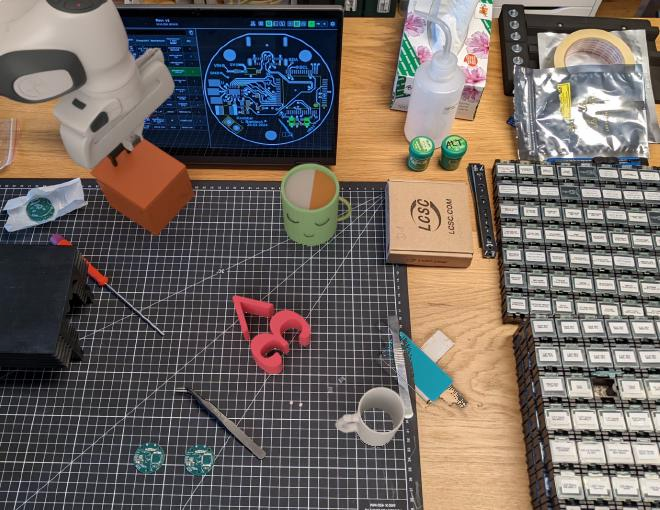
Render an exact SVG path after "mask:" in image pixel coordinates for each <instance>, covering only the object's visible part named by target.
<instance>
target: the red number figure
mask: <svg viewBox="0 0 660 510" xmlns="http://www.w3.org/2000/svg"><path fill="white" fill-rule="evenodd" d="M232 301H233V305H234V309H235V311H236V314H237V318H238V322H239V323H240V324H239V325H240V328H241V331H242V335H243V337H244V338H243V339H244V341H245V342H246V341H247V340H248V339H249V338H251V335H250V332H249V328H248V325H247V321H246V318H245V313H243V312H247V313H250V314H255V315H259V316H263V317H268V318H271V317H272V316H273V315H274V314H275V315H274V316H273V317H272V318H271V319H270V321H269V329H270V333H268V332H263V333H259V334H257V335H255V336H254V337H253V338H252V339H251V341H250V351H251V354H252V358H253V360H255V361H254V363H255V362H256V363H257V364H256V363H255V364H256V366H257V365H258V366H259V367H260V368H261V369H263V370H264V371H265V372H267V373H269V374H278V373H280V372H281V371H282V369H283V370H284V366H283V364H284V363H283V360H282V356H281V355H280V353H279V351H276V352H275V353H274V354H273V355H271V356H269V357H263V356H264V355H265V354H266V353H267V352H268V351H269V350H271V349H274V348H276V349H280V350H281V351H282V352H284V353H285V354H287V353H288V352H290V345H289V342H288V341H287V340H286V339H284V336H283V337H282V334H283V333H284V332H285V331H286V330H288V329H289V328H296V329H298V330H299V331H301V333H300V334H299V335H298V343H299V345H300V344H301V345H304V346H306V345H308V344H309V343H310V341H311V342H312V332H311V331H312V330H311V326H310V324H309V323H308V322H307V320H306V319H305V318H304V317H302V315H301V314H300V313H299V314H298V313H297V312H295V311H294V310H293V311H292V310H289V309H284V310H283V309H282V310H280V311H278V312H276V313H275V308H274V307H275V306H274V303H270V302H266V301H263V300H257V299H253V298H248V297H244V296H241V295H236V294H234V295H233V296H232ZM310 344H311V343H310ZM282 352H281V353H282ZM258 366H257V367H258ZM259 367H258V368H259ZM260 368H259V369H260ZM261 369H260V370H261ZM265 372H264V373H265Z"/></svg>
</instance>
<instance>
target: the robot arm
mask: <svg viewBox="0 0 660 510" xmlns="http://www.w3.org/2000/svg"><path fill="white" fill-rule="evenodd" d="M129 46H130V44H129V37H128V34H127V30H126V28H125V26H124V23H123V21H122V18H121V16H120V12H119V11H118V9H117V7H116V5H115V2H114V1H113V0H0V95H1V96H3V97H5V98H6V99H9V100H11V101H13V102H17V103H20V104H27V105H33V104H34V105H37V104H43V103H47V102H51V101H54V100H57V99H59V100H58V101H57V102H56V103H55V105H54V106H53V109H52V115H53V117H54V118H55V119H56V120H57V121H58V122H59V123H60V126H59V135H60V138H61V141H62V143H63V146H64V149H65V150H66V153H67V154H68V156H69V158H70V159H71V160H72V162H75V163H76V164H77V165H79V166H80V167H82V168H84V169H86V170H93V169H94V168H95V167H96V166H97V165H98V164H99V163H100V162H101V161H102V160H103V159H104V158H105V157H107V155H108V154H109V153H110V152H111V151H112V150H113V149H115V148H116V147H117V146H118V145H119V144H120V143H123V146H124V147H125V148H126V149H128V150H130V151H132V150H133V149H134V148H135V147H136V146H137V145H138V144H139V143H140V142H141V141H143V138H144V136H143V131H144V127H145V120H147V119H148V118H149V117H150V116H151V115H152V114H153V113H154V112H155V111H156V110H157V109H158V108H159V107H160V106H162V105H163V103H165V102H166V101H167V100H168V99H169V98H170V97H171V96H172V95H173V94H174V91H175V87H176V86H175V82H174V79H173V76H172V75H171V73H170V70H169V69H168V67H167V65H166V64H165V57H164V53H163V51H162V50H161V49H160V48H158V47H154V48H152V47H149V48H148V49H146V50H145V51H144V52H143V54H142V55H140V56H139V57H137V58H135V57H134V54H133V53H132V52H131V51H130V49H129Z"/></svg>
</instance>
